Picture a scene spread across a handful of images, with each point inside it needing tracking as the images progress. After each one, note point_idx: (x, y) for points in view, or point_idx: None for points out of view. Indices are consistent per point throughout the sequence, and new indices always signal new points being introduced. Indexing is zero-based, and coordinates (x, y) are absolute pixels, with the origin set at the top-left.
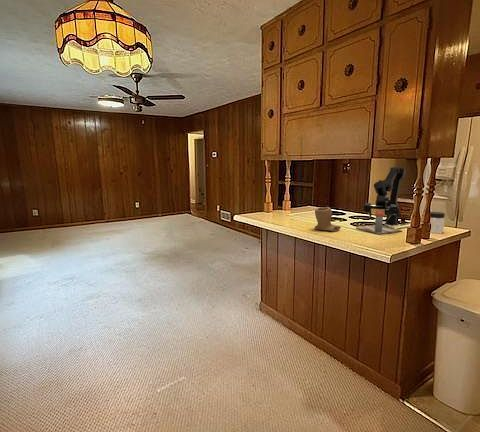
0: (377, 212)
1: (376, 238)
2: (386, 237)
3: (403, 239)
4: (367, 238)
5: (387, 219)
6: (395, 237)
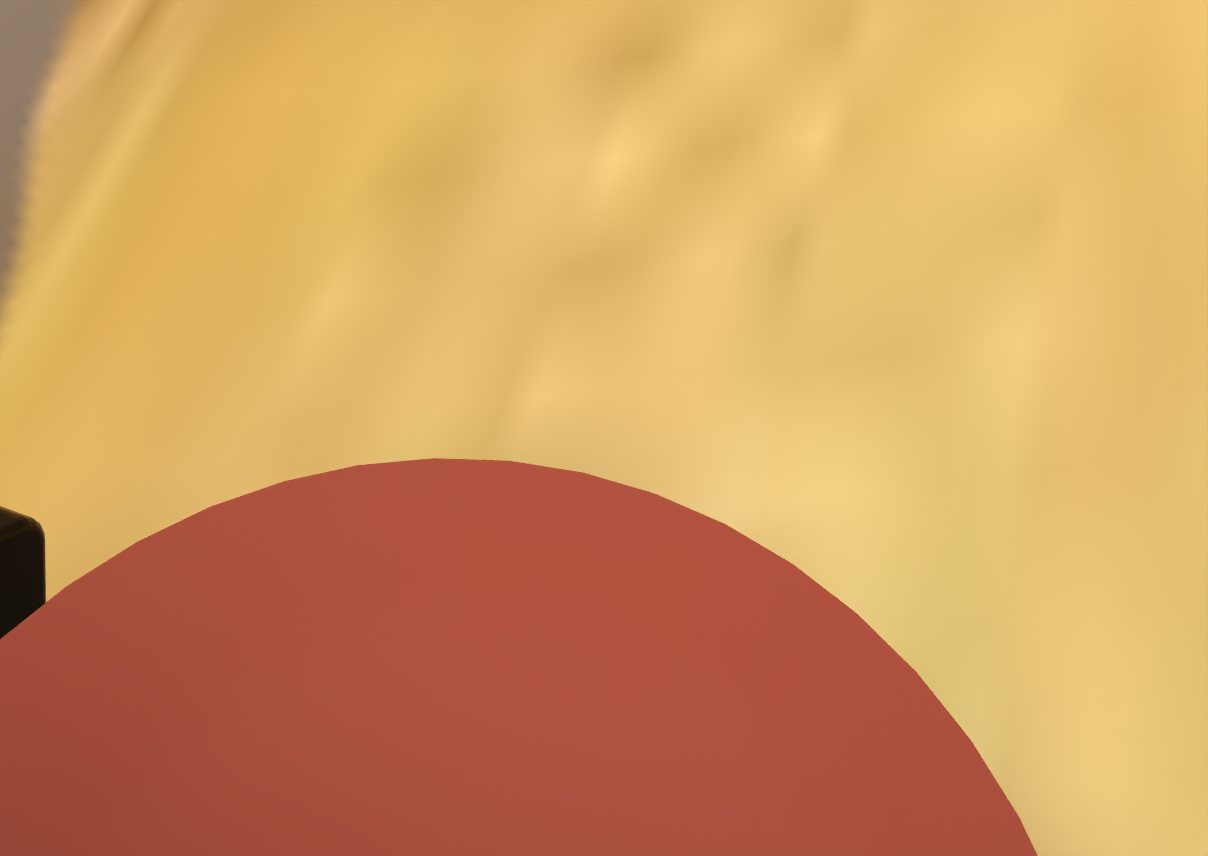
0: (865, 651)
1: (812, 130)
2: (478, 276)
3: (79, 113)
4: (1072, 101)
5: (35, 532)
6: (197, 308)
